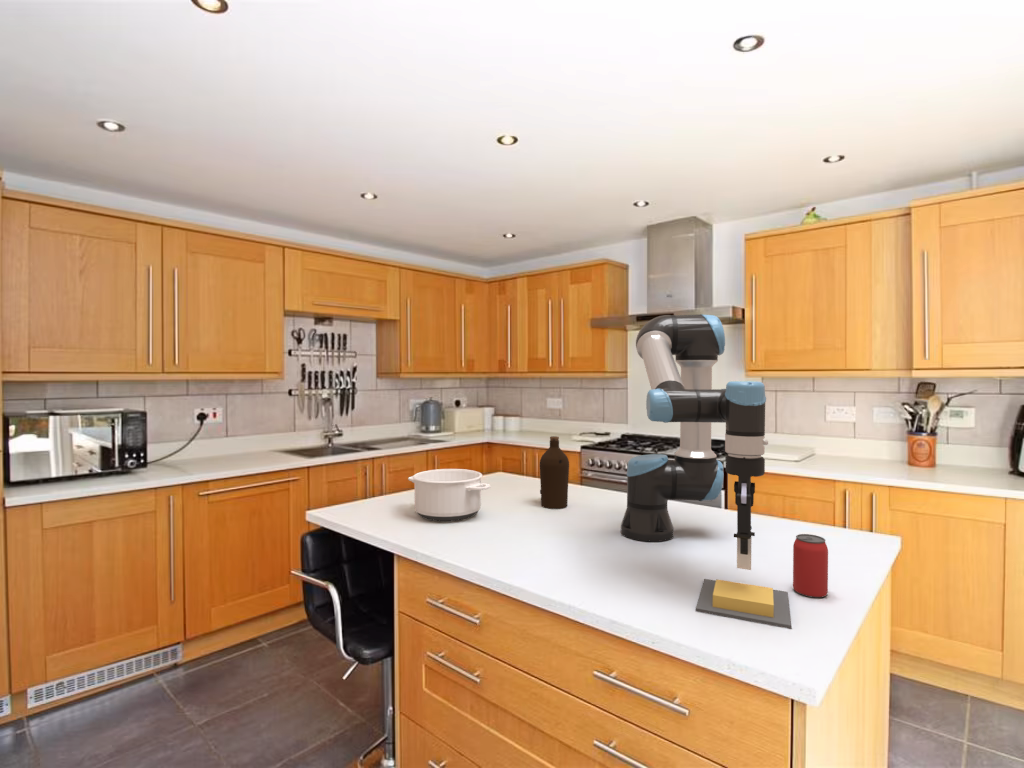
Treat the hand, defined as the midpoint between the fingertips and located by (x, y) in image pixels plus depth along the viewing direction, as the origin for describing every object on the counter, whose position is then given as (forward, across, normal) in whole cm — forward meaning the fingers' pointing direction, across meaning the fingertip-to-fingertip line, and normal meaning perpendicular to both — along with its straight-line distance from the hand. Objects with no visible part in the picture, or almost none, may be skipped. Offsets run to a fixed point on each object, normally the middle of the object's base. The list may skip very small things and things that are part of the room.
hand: (744, 567), depth 110 cm
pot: (+7, +32, +92) cm, 98 cm away
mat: (+7, -1, 0) cm, 7 cm away
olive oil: (+7, +58, +64) cm, 87 cm away
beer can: (+7, +11, -13) cm, 18 cm away
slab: (+5, +2, 0) cm, 6 cm away
